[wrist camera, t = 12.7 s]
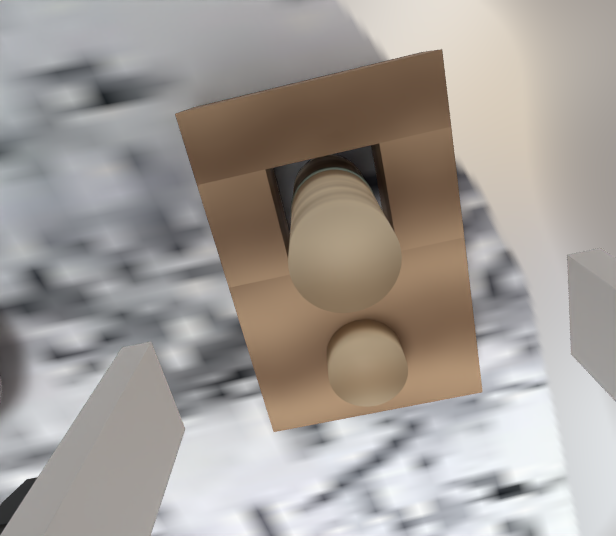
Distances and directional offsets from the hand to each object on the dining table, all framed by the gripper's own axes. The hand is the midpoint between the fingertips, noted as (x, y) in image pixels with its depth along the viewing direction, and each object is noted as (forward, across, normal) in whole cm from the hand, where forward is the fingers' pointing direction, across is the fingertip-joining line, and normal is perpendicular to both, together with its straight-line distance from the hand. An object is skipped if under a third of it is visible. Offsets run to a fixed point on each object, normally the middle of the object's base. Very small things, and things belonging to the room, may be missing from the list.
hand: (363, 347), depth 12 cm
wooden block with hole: (+17, 0, -3) cm, 17 cm away
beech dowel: (+17, 0, 0) cm, 17 cm away
